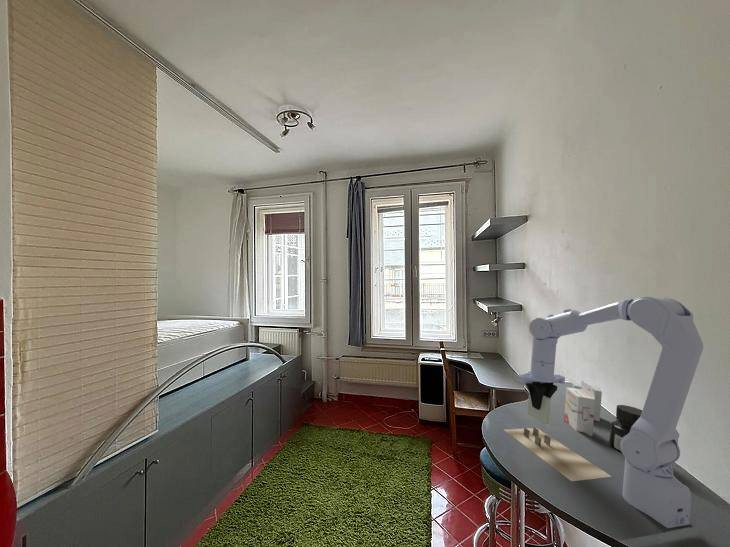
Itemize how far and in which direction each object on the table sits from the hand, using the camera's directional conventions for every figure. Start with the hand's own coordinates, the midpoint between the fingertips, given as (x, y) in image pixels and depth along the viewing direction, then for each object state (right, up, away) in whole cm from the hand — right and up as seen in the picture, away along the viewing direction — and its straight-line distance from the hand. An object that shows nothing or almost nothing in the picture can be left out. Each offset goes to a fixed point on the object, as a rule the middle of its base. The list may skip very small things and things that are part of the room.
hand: (539, 408), depth 84 cm
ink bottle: (+25, -12, -1) cm, 28 cm away
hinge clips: (-1, -9, 0) cm, 9 cm away
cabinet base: (0, -10, -5) cm, 11 cm away
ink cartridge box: (+19, -12, +11) cm, 25 cm away
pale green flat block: (0, -3, 0) cm, 3 cm away
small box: (+30, -13, +22) cm, 39 cm away
